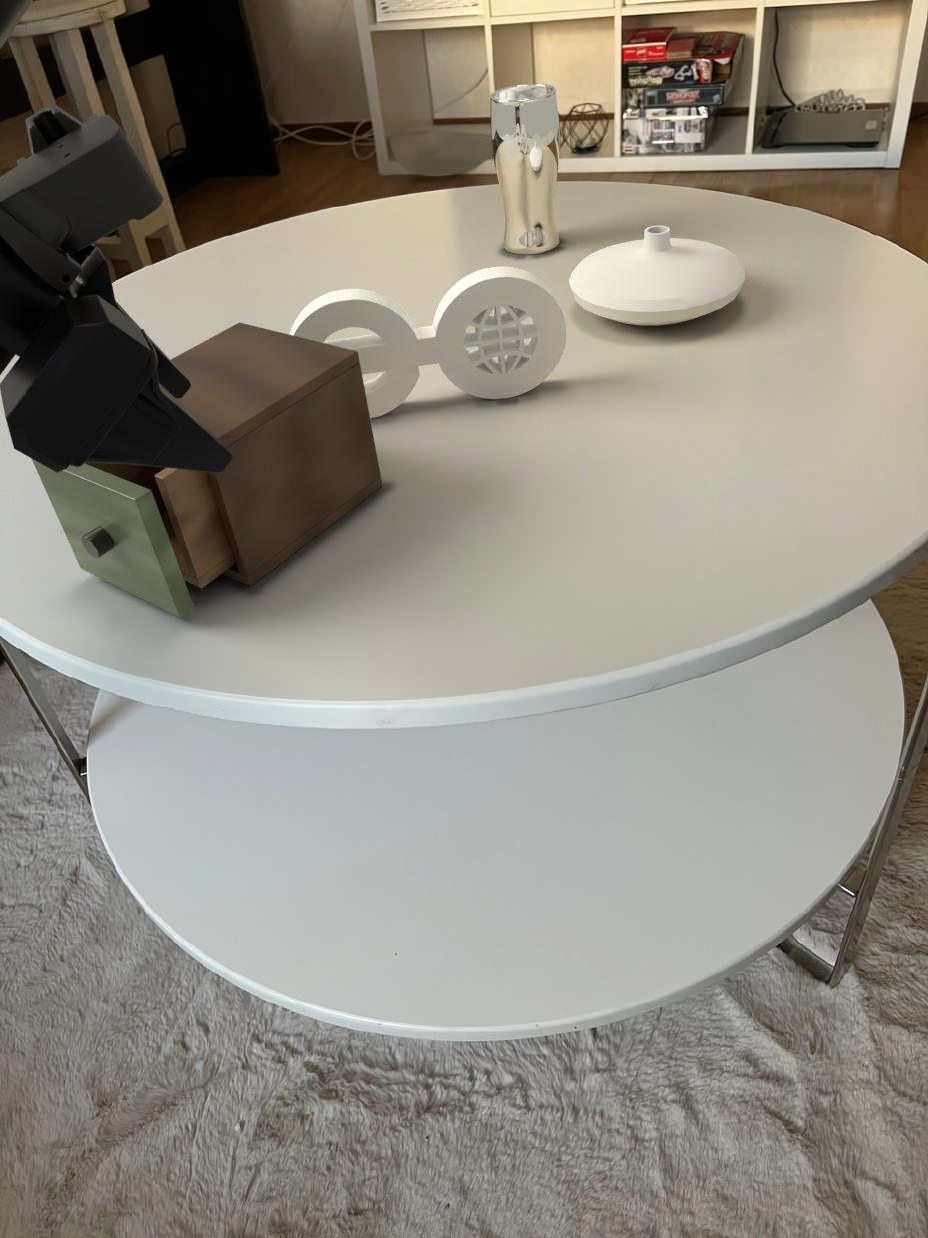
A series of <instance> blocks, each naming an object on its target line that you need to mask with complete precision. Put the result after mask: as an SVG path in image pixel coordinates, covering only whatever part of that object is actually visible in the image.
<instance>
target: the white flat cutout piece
mask: <svg viewBox="0 0 928 1238" xmlns="http://www.w3.org/2000/svg"><path fill="white" fill-rule="evenodd" d="M501 307H502V309H504V310H505V311H503V312H501ZM492 311H493V312H492ZM491 313H493V314H491ZM529 317H530V318H531V320H532V321H530V322H524V323H521V322H523V321H525V320H526V319H528V318H529ZM470 326H471V327H472V328H473V327H474V330H471V331H468V327H470ZM349 328H358V329H359V328H360V329H365V330H369V331H371V332H373V334H366V335H359V336H353V337H346V338H339V339H334V340H327V339H328V338H329V337H330V336H331V335H333V334H334V333H336V332H338V331H341V330H344V329H349ZM289 335H293V336H297V337H301V338H305V339H309V340H314V341H318V342H322V343H326V344H330V345H334V346H338V347H342V348H346V349H350V350H354V351H358V355H359V360H360V362H359V363H360V366H361V371H362V376H363V375H369V374H377V373H379V374H378V375H377V376H376V377H374V378H372V379H370V380H367V381H363V382H364V388H365V393H366V398H367V404H368V409H369V415H370V419H375V418H378V417H381V416H382V417H383V416H384V415H386V414H388V413H389V412H391V411H393V410H395V409H396V408H397V407H400V405H401V404H403V402H405V400H406V399H408V397H409V396H410V395H411V393H412V391H413V390H414V388H415V387H416V385H417V382H418V381H419V378H420V376H421V372H420V368H419V367H422V366H430V365H437V364H438V365H439V367H440V369H441V371H442V373H443V374H444V375H445V376H446V378H447V379H448V380H449V382H450V383H452V384H453V385H454V386H455V387H456V388H458V389H459V390H460V391H463V392H465V393H466V394H468V395H471V396H474V397H477V398H480V399H488V400H503V399H510V398H515V397H518V396H520V395H523V394H525V393H528V392H530V391H532V390H533V389H535V388H536V387H538V386H539V385H541V384H542V383H543V382H544V381H545V380H546V379H547V378H548V377H549V376H550V375H551V374H552V373H553V371H554V370H555V369H556V368H557V366H558V364H559V362H560V360H561V359H562V356H563V354H564V351H565V348H566V343H567V325H566V319H565V315H564V313H563V310H562V308H561V306H560V304H559V302H558V300H557V298H556V296H555V294H554V293H553V291H552V290H551V288H550V287H549V286H548V284H546V283H545V282H544V281H543V280H541V279H540V278H539V277H537V275H534V274H533V273H531V272H529V271H527V270H524V269H522V268H517V267H512V266H504V265H502V266H501V265H500V266H492V267H491V266H490V267H486V268H482V269H478V270H476V271H473V272H471V273H470V274H468V275H466V276H464V277H462V278H461V279H460V280H458V281H457V282H456V283H455V284H454V285H453V286H451V287H450V288H449V290H448V291H447V292H446V293H445V294H444V296H443V298H442V299H441V301H440V302H439V304H438V306H437V309H436V310H435V314H434V317H433V321H432V325H427V326H420V327H416V326H415V324H414V322H413V320H412V319H411V318H410V316H409V314H408V313H407V312H406V311H405V310H404V309H403V308H402V307H401V306H400V305H399V304H398V303H397V302H395V301H393V300H392V299H391V298H389V297H387V296H385V295H383V294H381V293H379V292H377V291H373V290H370V289H364V288H344V289H337V290H333V291H330V292H326V293H324V294H323V295H321V296H320V295H319V297H317V298H315V299H314V300H312V301H311V302H310V303H308V304H307V305H306V306H305V307H304V308H303V309H302V311H300V313H299V314H298V316H297V317H296V318H295V321H294V322H293V325H292V326H291V329H290V331H289ZM527 339H529V341H528V343H525V340H527ZM472 347H476V348H475V349H473V350H471V351H469V350H468V349H467V348H472ZM495 358H497V361H496V360H495Z"/></svg>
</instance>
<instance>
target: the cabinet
mask: <svg viewBox="0 0 928 1238" xmlns="http://www.w3.org/2000/svg"><path fill="white" fill-rule="evenodd" d="M170 360H171V361H172V362H173V363H174V364H175V365H176V366H177V368H178V369H179V370H180V371H181V372H182V373H183V374H184V375H185V376H186V377H187V378H188V379H189V381H190V383H191V387H190V388H189V390H188V391H187V392H186V393H185V395H184V396H183V397H182V398H180V399H177V398H175V399H177V400H178V401H179V402H180V403H181V404H182V405H183V406H184V407H185V408H186V409H187V410H188V411H189V412H190V413H191V414H192V415H193V416H194V417H195V418H197V419H198V420H199V421H200V422H201V423H202V424H203V425H204V426H205V427H206V428H207V429H208V430H209V431H210V432H211V433H212V434H213V435H214V436H215V437H216V438H217V439H218V440H219V441H220V442H221V443H222V444H223V445H224V446H225V447H226V448H227V449H228V450H229V451H230V452H231V453H232V455H233V459H232V461H231V462H230V463H229V465H228V466H227V467H226V468H225V469H224V471H223V472H221V473H210V472H208V475H209V478H210V482H211V485H212V488H213V491H214V494H215V497H216V500H217V504H218V507H219V510H220V513H221V516H222V519H223V522H224V526H225V529H226V532H227V535H228V538H229V541H230V544H231V548H232V551H233V554H234V557H235V560H236V564H234V565H233V566H232V567H230V568H229V569H227V570H226V571H225V572H223V573H222V574H221V575H223V576H226V577H228V578H230V579H233V580H235V581H237V582H240V583H242V584H244V585H247V586H249V587H252V586H253V585H254V584H255V583H257V582H258V581H259V580H262V578H263V577H265V576H267V574H269V573H270V572H272V571H273V570H274V569H276V568H277V567H278V566H279V565H281V564H282V563H283V562H285V561H286V560H287V559H289V558H290V557H292V555H294V554H295V553H296V552H298V551H299V550H300V549H302V548H303V547H304V546H306V545H307V544H308V543H310V542H311V541H312V540H313V539H315V538H316V537H317V536H319V535H320V534H321V533H323V532H324V531H325V530H326V529H329V527H331V526H332V525H333V524H334V523H336V522H337V521H338V520H340V519H341V518H342V517H343V516H345V515H346V514H348V513H349V512H350V511H351V510H353V509H354V508H355V507H357V506H358V505H359V504H360V503H362V502H363V501H365V500H366V499H367V498H369V497H370V496H371V495H372V494H373V493H375V492H376V491H378V490H379V489H380V488H382V487H383V480H382V475H381V470H380V469H381V468H380V464H379V458H378V453H377V448H376V443H375V436H374V431H373V426H372V420H371V418H370V415H369V409H368V404H367V398H366V393H365V388H364V382H365V381H364V377H363V375H362V371H361V366H360V363H359V362H360V360H359V355H358V351H354V350H350V349H346V348H342V347H338V346H334V345H330V344H326V343H322V342H318V341H314V340H309V339H305V338H301V337H297V336H293V335H290V333H289V334H288V333H285V332H281V331H277V330H272V329H269V328H264V327H260V326H256V325H252V324H248V323H244V322H238V323H236V324H233V325H232V326H230V327H228V328H226V329H225V330H222V331H220V332H219V333H217V334H215V335H213V336H212V337H209V338H207V339H206V340H203V341H202V342H200V343H198V344H196V345H195V346H193V347H191V348H189V349H187V350H186V351H184V352H182V353H180V354H178V355H177V356H175V357H173V358H171V359H170Z"/></svg>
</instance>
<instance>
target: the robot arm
mask: <svg viewBox="0 0 928 1238" xmlns="http://www.w3.org/2000/svg"><path fill="white" fill-rule="evenodd" d="M33 2H34V0H0V50H1V49H2V48H3V46H4V45H5V44H6V42H7V40H8V39H9V37H10V36H11V35H12V33H13V31H14V30H15V29H16V27H17V26H18V24H19V22H21V20H22V18H23V17H24V16H25V14H26V12H27V11H28V9H29V8H30V6H31V5H32V3H33ZM87 119H88V121H87V122H85V123H83V122H82V121H80V120H79V119H77V118H76V117H74V116H73V115H72V114H70V113H69V112H67V111H65V109H63V108H61V107H60V106H58V105H56V104H55V103H50V104H48V105H47V106H45V107H43V108H41V109H40V110H38V111H37V112H35V113H34V114H32V115H30V116H28V117H26V119H25V125H26V126H25V127H26V131H27V136H28V142H29V147H30V154H31V155H30V156H29V157H25V156H22V157H20V158H19V159H17V160H16V163H17V165H16V166H15V167H13V168H12V169H10V170H8V171H7V172H5V173H4V174H3V175H1V176H0V376H1V375H2V374H3V373H4V371H5V370H6V368H7V367H8V366H9V364H10V363H11V362H12V360H13V359H14V357H15V356H16V357H18V359H17V360H16V361H15V363H14V364H13V365H12V367H11V368H10V369H9V370H8V372H7V374H6V375H5V377H3V379H2V380H1V382H0V397H1V401H2V408H3V412H4V417H5V420H6V424H7V429H8V432H9V436H10V438H11V442H12V446H13V449H14V450H16V451H17V452H19V453H21V454H22V455H25V456H26V457H28V458H29V459H31V460H32V459H33V460H35V461H37V462H39V463H40V464H42V465H44V466H46V467H48V468H49V469H51V470H53V471H55V472H56V473H58V472H60V471H63V470H65V469H67V468H68V467H69V465H70V466H73V467H80V466H82V465H83V464H84V463H85V462H91V463H112V464H132V465H144V466H155V467H165V468H174V469H183V470H192V471H201V472H210V473H221V472H223V471H224V469H225V468H226V467H227V466H228V465H229V463H230V462H231V461H232V459H233V455H232V453H231V452H230V451H229V450H228V449H227V448H226V447H225V446H224V445H223V444H222V443H221V442H220V441H219V440H218V439H217V438H216V437H215V436H214V435H213V434H212V433H211V432H210V431H209V430H208V429H207V428H206V427H205V426H204V425H203V424H202V423H201V422H200V421H199V420H198V419H197V418H195V417H194V416H193V415H192V414H191V413H190V412H189V411H188V410H187V409H186V408H185V407H184V406H183V405H182V404H181V403H180V402H179V401H178V400H177V399H180V398H182V397H183V396H184V395H185V393H186V392H187V391H188V390H189V388H190V387H191V383H190V381H189V379H188V378H187V377H186V376H185V375H184V374H183V373H182V372H181V371H180V370H179V369H178V368H177V366H176V365H175V364H174V363H173V362H172V361H171V359H170V358H169V356H167V354H166V353H165V352H164V351H163V350H162V349H161V348H160V347H159V346H158V345H157V344H156V343H155V341H153V340H152V339H151V338H150V336H149V335H148V334H147V333H146V331H145V329H144V328H142V327H141V326H139V325H138V323H137V322H136V321H135V320H134V319H133V318H132V317H131V315H130V314H129V313H128V312H127V311H126V310H125V309H124V308H123V307H122V305H120V303H119V302H118V301H117V300H116V295H115V291H114V286H113V281H112V276H111V271H110V266H109V263H108V261H107V259H106V258H105V255H104V254H103V252H102V250H101V248H100V247H97V246H96V244H95V242H97V241H98V240H100V239H102V238H104V237H105V236H107V235H109V234H110V233H111V232H113V231H115V230H116V229H118V228H120V227H121V226H123V225H125V224H126V223H128V222H130V221H132V220H136V221H141V220H143V219H145V218H146V217H148V216H150V215H151V214H152V213H154V212H155V211H156V210H157V209H159V208H160V207H161V206H162V204H163V202H164V196H163V194H162V192H161V190H159V188H158V186H157V185H156V183H155V180H154V179H153V178H152V176H151V175H150V173H149V172H148V170H147V168H146V167H145V165H144V163H143V161H142V160H141V159H140V157H139V155H138V154H137V152H136V151H135V149H134V147H133V146H132V144H131V143H130V141H129V139H128V137H127V136H126V135H125V132H124V131H123V129H122V128H121V126H120V125H119V123H117V122H116V121H115V120H114V119H113V118H112V117H111V116H110V115H109V114H102V115H100V116H98V114H96V113H94V114H92V115H91V116H89V117H87ZM77 252H79V253H81V254H83V255H85V256H87V257H86V258H85V259H84V260H83V262H82V263H81V264H80V263H79V262H77V261H76V260H75V259H74V258H73V256H74V255H75V254H76V253H77ZM175 398H177V399H175Z"/></svg>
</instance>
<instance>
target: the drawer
mask: <svg viewBox="0 0 928 1238" xmlns="http://www.w3.org/2000/svg"><path fill="white" fill-rule="evenodd" d="M31 461H32V464H33V466H34V468H35V470H36V472H37V474H38V476H39V479H40V481H41V484H42V485H43V487H44V490H45V492H46V494H47V497H48V499H49V500H50V501H49V502H50V504H51V505H52V508H53V510H54V512H55V515H56V517H57V519H58V521H59V523H60V525H61V528H62V530H63V533H64V534H65V537H66V539H67V541H68V544H69V546H70V549H71V550H72V552H73V555H74V557H75V559H76V561H77V563H78V566H79V568H80V569H81V570H83V571H85V572H87V573H89V574H91V575H93V576H95V577H97V578H98V579H101V580H103V581H105V582H107V583H109V584H111V585H113V586H115V587H117V588H119V589H121V590H123V591H125V592H128V593H130V594H131V595H132V596H133V595H134V596H135V597H138V598H139V599H142V600H144V601H146V602H148V603H150V604H152V605H154V606H155V607H158V608H160V609H162V610H164V611H166V612H168V613H170V614H172V615H174V616H176V617H178V618H182V617H183V616H185V615H187V613H189V612H190V611H192V610H193V609H194V608H195V605H194V603H193V600H192V596H191V594H190V592H189V588H188V586H187V584H186V582H187V583H190V584H191V585H193V586H196V587H197V588H199V589H203V588H204V587H206V586H207V585H209V584H210V583H211V582H212V581H214V580H216V578H218V577H219V576H221V575H223V574H222V573H223V572H225V571H226V570H227V569H229V568H230V567H232V566H233V565H234V564H236V560H235V557H234V554H233V551H232V548H231V544H230V541H229V538H228V535H227V532H226V529H225V526H224V522H223V519H222V516H221V513H220V510H219V507H218V504H217V500H216V497H215V494H214V491H213V488H212V485H211V482H210V478H209V475H208V472H201V471H192V470H183V469H174V468H165V467H155V466H144V465H132V464H112V463H91V462H85V463H84V464H83V465H82V466H80V467H73V466H70V465H69V467H68V468H67V469H65V470H63V471H60V472H58V473H56V472H55V471H53V470H51V469H49V468H48V467H46V466H44V465H42V464H40V463H39V462H37V461H35V460H33V459H31Z"/></svg>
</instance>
